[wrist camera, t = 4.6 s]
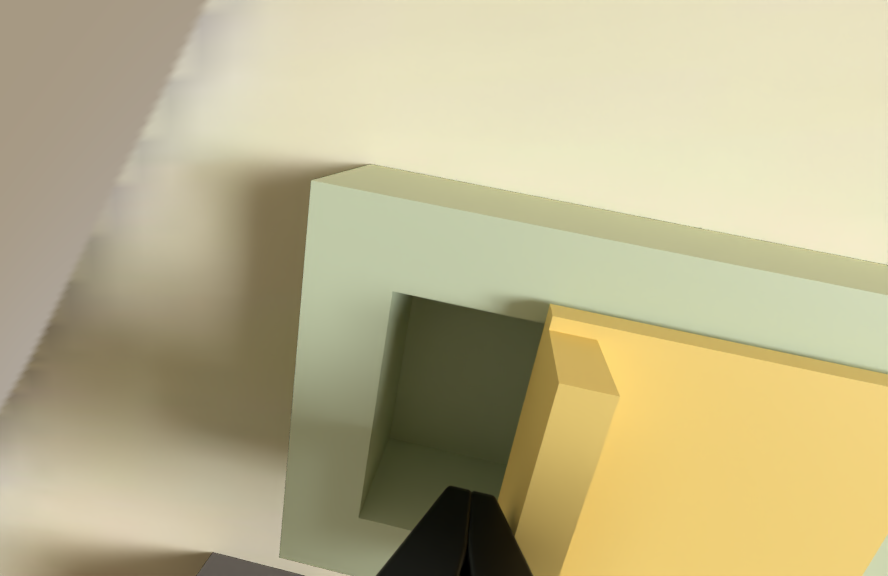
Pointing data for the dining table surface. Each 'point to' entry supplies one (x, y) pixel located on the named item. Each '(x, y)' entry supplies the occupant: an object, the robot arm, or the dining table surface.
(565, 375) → the panel
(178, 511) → the dining table surface
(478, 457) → the socket block
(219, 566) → the plug
